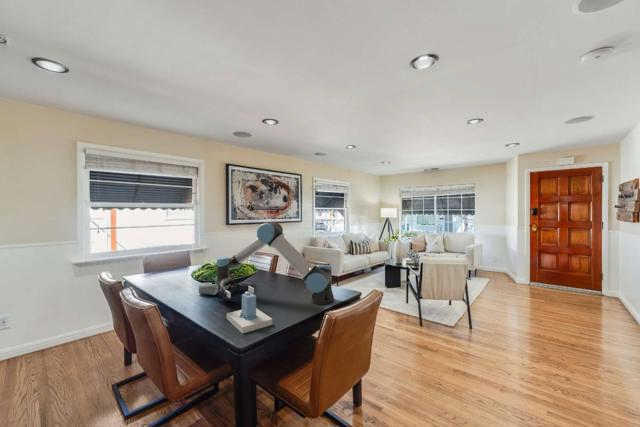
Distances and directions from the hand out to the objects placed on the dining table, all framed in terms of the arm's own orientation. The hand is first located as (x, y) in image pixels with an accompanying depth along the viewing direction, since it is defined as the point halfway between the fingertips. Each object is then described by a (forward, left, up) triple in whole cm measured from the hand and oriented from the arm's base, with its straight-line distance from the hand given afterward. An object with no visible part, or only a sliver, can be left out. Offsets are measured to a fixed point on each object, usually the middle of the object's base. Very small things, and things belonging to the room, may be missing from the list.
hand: (242, 293), depth 151 cm
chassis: (-9, +6, -12) cm, 16 cm away
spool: (+45, -21, -13) cm, 51 cm away
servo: (-9, +6, -12) cm, 16 cm away
